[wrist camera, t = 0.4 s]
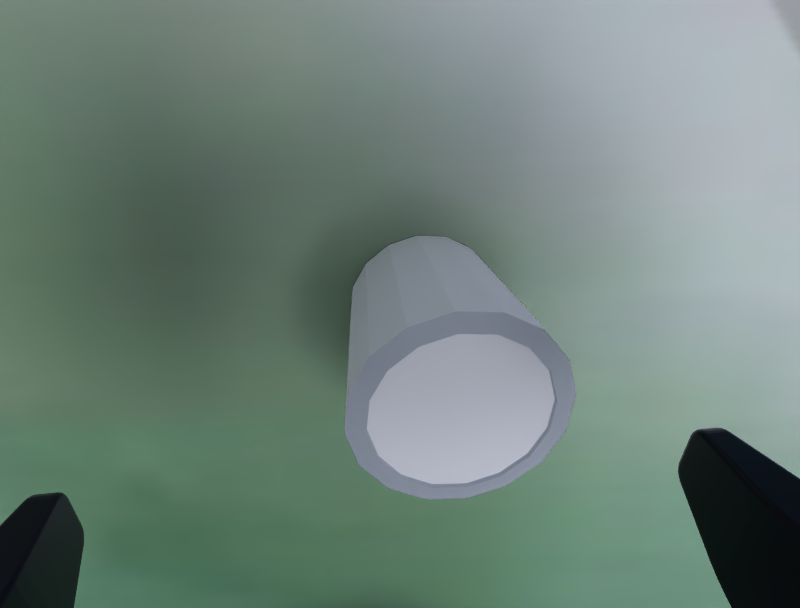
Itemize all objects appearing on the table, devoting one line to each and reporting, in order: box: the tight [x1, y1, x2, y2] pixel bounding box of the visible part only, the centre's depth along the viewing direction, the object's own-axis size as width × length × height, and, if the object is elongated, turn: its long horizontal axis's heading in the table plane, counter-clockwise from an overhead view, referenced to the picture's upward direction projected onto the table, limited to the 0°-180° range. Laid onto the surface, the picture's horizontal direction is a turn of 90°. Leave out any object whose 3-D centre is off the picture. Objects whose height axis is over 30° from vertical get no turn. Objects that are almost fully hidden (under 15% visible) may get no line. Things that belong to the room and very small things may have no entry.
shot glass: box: [344, 236, 576, 499], centre depth 21 cm, size 7×7×7 cm
